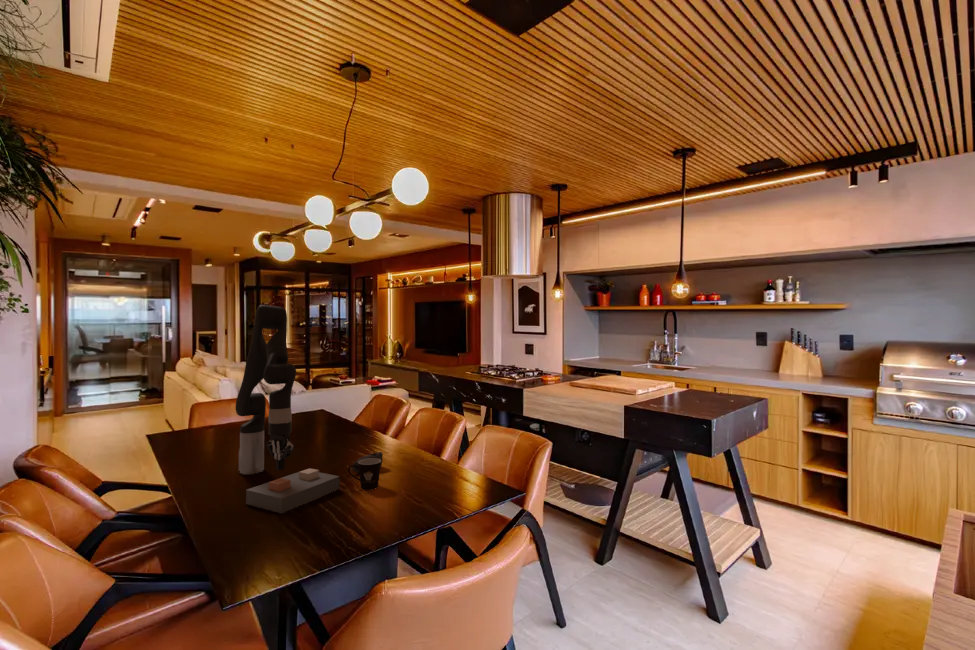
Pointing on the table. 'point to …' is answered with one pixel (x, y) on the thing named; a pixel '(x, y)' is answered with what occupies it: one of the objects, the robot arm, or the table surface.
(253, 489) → the key panel
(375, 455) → the perforated stone tool
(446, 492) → the table surface
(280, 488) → the terracotta key
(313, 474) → the offwhite key
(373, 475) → the coffee mug
